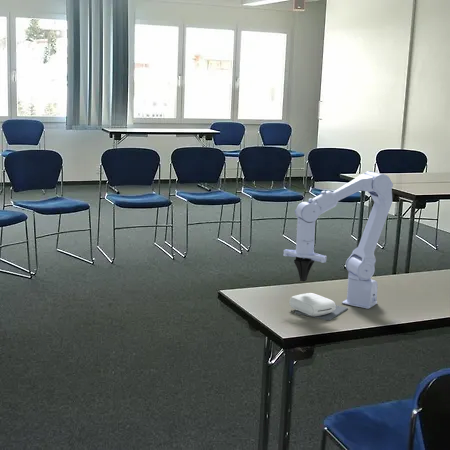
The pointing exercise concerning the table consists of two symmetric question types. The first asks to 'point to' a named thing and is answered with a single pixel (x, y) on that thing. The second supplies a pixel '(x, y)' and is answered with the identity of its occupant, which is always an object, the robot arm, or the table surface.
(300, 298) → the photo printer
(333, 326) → the table surface
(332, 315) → the slate mat
